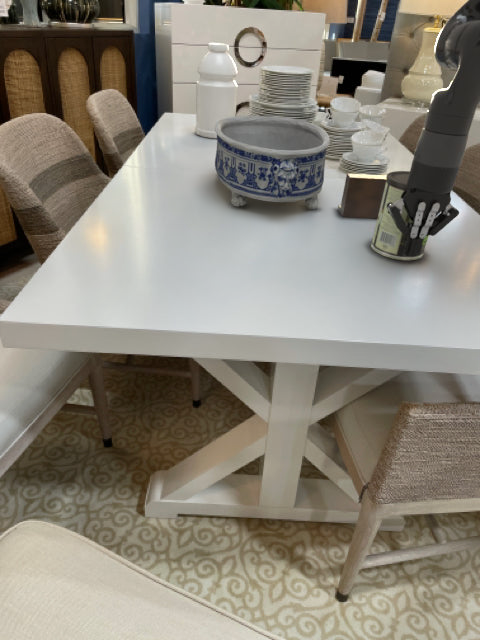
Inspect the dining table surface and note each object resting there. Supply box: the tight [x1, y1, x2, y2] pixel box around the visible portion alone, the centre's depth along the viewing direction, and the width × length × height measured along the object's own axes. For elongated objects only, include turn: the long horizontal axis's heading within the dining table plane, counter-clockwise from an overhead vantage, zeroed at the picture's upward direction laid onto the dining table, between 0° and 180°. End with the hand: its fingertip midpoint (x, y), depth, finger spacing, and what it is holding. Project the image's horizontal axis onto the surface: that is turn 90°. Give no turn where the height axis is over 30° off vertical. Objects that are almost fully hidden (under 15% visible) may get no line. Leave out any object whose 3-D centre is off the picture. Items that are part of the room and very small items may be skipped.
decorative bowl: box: [214, 115, 331, 210], centre depth 115 cm, size 42×27×15 cm, turn 8°
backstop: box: [337, 173, 387, 220], centre depth 107 cm, size 16×5×9 cm, turn 93°
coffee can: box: [370, 170, 429, 261], centre depth 90 cm, size 10×10×14 cm
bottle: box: [195, 42, 239, 140], centre depth 160 cm, size 14×14×28 cm
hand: (409, 254), depth 88 cm, fingers closed
